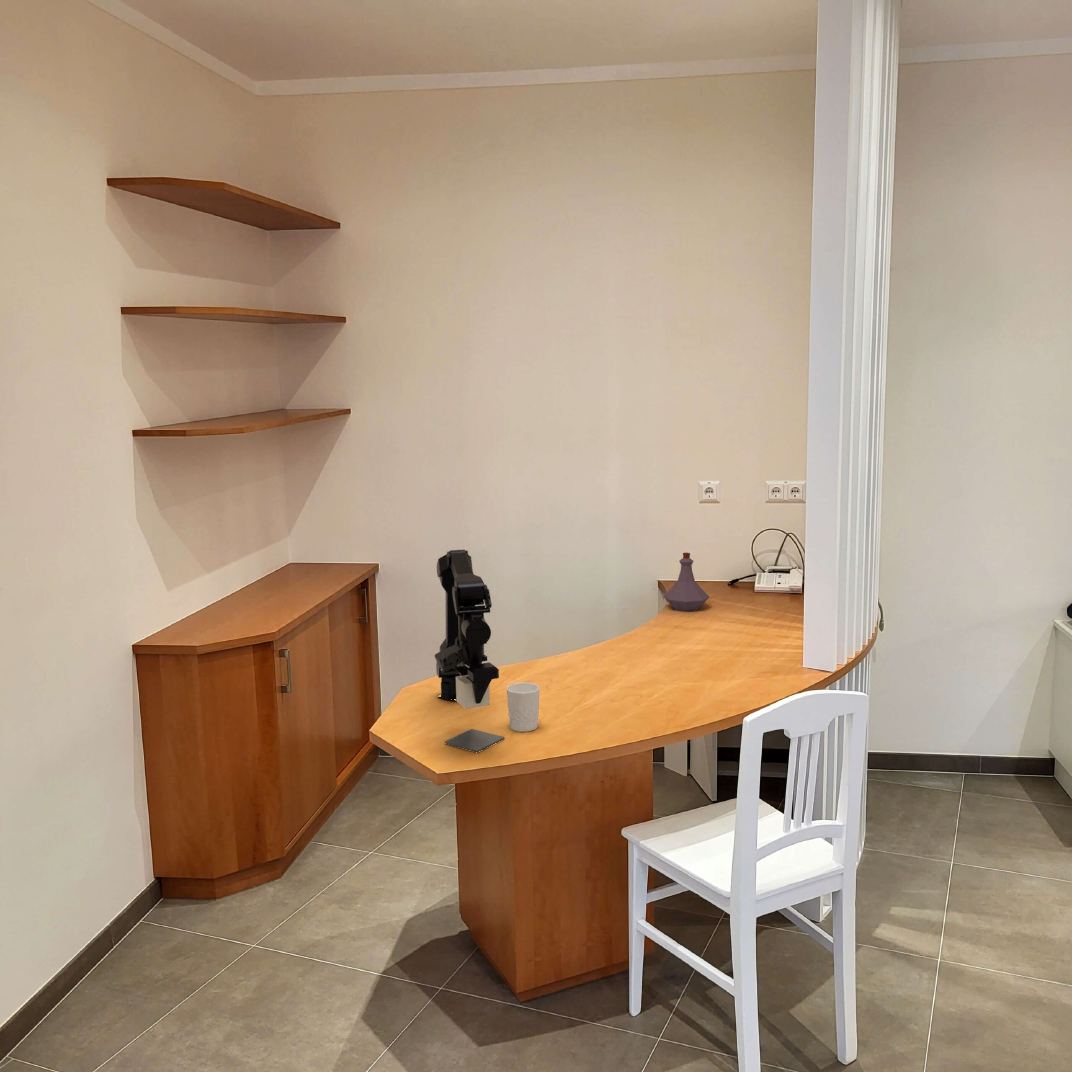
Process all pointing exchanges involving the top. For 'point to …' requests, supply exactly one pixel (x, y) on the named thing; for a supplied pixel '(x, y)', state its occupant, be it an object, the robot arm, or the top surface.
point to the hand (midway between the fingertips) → (473, 699)
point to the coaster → (474, 740)
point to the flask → (686, 589)
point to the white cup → (523, 706)
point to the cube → (469, 694)
